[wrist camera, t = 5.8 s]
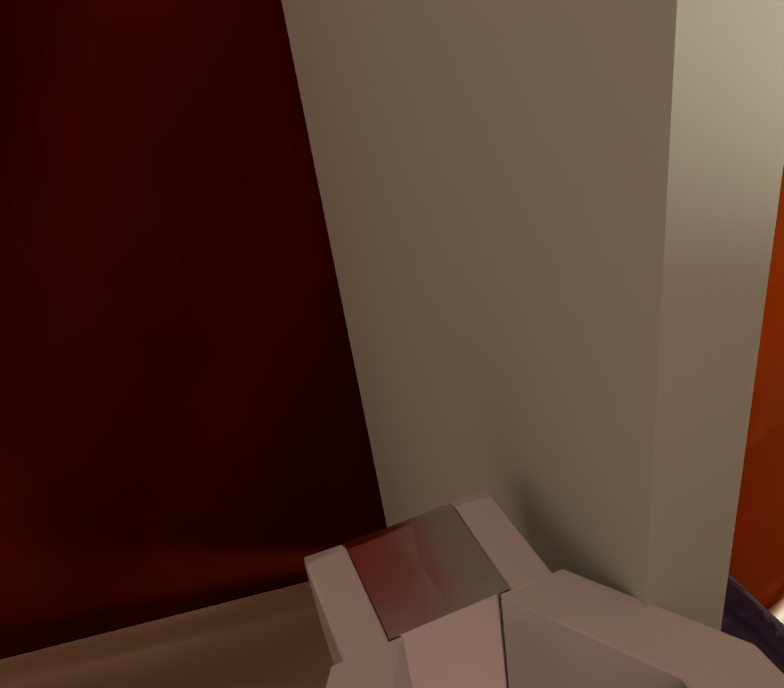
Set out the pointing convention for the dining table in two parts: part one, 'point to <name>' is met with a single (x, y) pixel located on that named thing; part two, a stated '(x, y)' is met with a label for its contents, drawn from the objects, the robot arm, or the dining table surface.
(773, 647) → the flask
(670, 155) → the side door
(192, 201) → the dining table surface
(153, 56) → the dining table surface
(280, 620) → the oak cabinet
